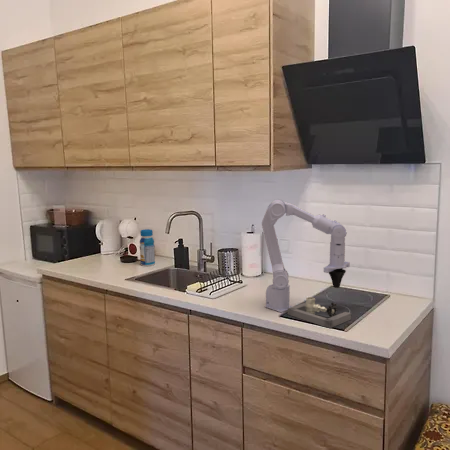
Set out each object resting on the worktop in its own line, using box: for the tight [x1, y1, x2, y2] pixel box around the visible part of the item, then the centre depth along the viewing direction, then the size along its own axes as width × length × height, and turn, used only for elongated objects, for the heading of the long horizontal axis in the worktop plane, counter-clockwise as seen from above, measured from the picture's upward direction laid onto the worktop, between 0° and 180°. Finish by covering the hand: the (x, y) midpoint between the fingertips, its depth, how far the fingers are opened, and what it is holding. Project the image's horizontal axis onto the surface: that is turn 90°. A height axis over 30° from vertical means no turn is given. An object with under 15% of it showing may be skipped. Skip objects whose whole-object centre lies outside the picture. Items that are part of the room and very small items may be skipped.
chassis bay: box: [287, 301, 352, 329], centre depth 181 cm, size 20×13×2 cm, turn 41°
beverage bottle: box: [139, 228, 156, 267], centre depth 268 cm, size 8×8×20 cm
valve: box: [305, 296, 338, 319], centre depth 181 cm, size 7×7×12 cm
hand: (336, 287), depth 188 cm, fingers closed
